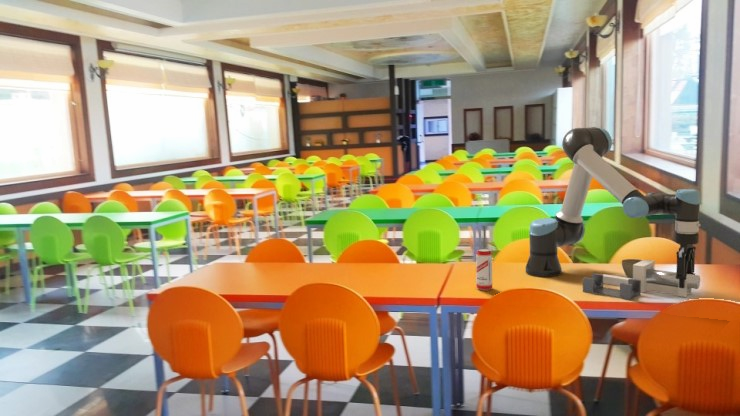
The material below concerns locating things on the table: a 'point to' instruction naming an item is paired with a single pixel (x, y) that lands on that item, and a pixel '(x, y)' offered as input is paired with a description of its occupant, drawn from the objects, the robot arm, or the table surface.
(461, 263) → the table surface
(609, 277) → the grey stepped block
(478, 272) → the beer can
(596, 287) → the v block
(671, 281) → the axle
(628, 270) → the flower pot
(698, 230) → the robot arm
